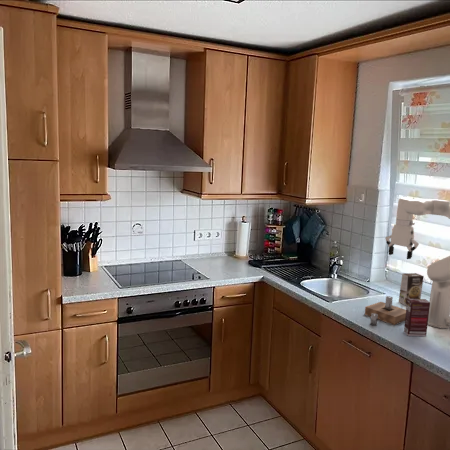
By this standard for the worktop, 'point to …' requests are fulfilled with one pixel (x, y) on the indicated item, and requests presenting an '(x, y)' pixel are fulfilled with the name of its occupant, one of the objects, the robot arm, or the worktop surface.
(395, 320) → the hole block
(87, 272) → the worktop surface
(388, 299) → the long pin
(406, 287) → the coffee box
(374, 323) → the short pin
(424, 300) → the supplement box
